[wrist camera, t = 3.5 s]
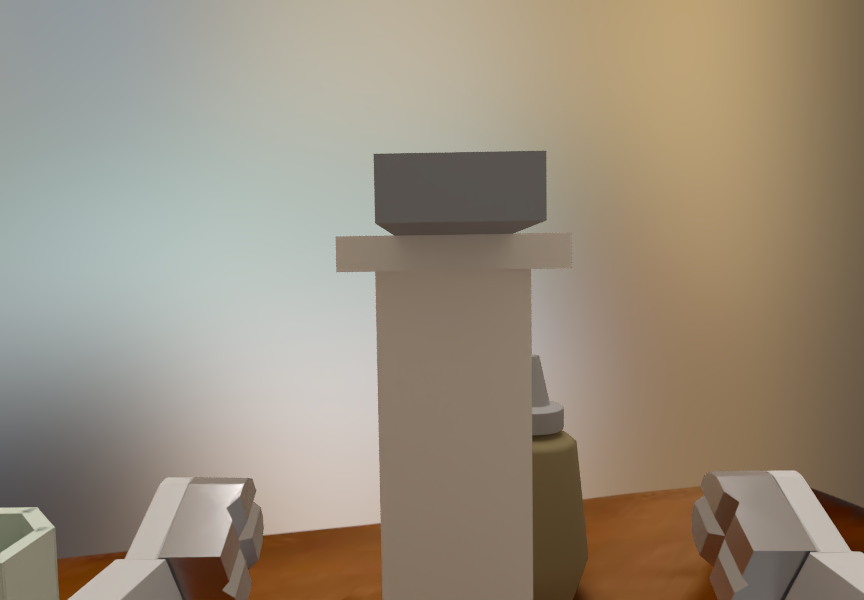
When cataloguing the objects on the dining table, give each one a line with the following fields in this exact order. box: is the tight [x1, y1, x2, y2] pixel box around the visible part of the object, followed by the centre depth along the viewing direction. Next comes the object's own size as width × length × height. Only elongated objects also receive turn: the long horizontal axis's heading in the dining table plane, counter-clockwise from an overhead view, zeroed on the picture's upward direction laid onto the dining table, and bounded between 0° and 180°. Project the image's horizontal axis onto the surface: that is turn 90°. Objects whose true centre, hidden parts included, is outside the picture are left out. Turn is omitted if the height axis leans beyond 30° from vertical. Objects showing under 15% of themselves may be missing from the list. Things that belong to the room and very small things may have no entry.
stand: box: [336, 233, 572, 600], centre depth 31 cm, size 10×10×26 cm
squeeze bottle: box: [532, 355, 588, 600], centre depth 45 cm, size 8×8×18 cm
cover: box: [374, 151, 546, 236], centre depth 28 cm, size 5×20×2 cm, turn 179°
